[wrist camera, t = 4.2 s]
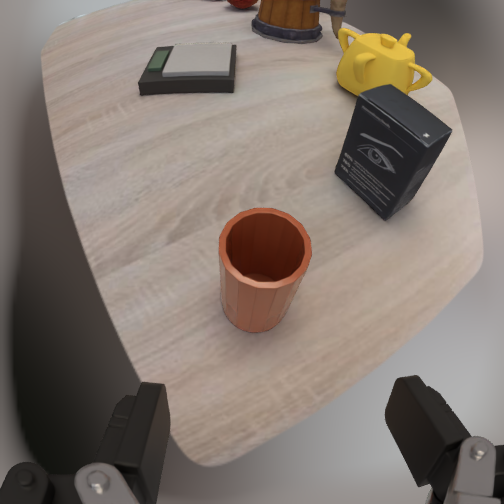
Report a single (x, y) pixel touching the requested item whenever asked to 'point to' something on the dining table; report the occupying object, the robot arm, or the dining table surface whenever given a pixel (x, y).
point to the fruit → (242, 3)
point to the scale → (190, 69)
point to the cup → (261, 266)
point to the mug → (296, 19)
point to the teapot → (378, 63)
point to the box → (390, 148)
